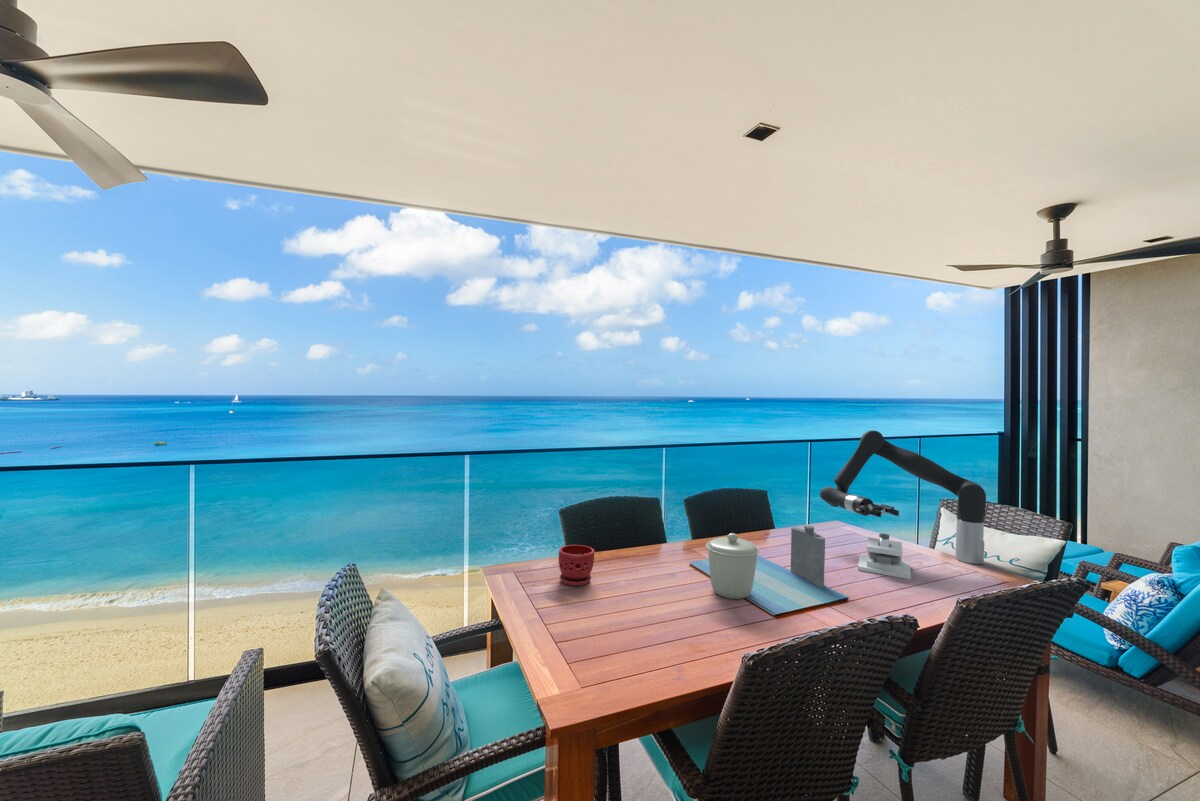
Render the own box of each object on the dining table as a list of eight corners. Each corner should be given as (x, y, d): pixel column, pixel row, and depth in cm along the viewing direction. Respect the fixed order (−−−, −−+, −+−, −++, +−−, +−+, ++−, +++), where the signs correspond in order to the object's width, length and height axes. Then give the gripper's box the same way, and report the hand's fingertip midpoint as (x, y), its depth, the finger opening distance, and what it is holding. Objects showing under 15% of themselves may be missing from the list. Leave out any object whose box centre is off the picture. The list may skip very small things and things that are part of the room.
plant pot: (589, 589, 174) (590, 556, 174) (554, 586, 177) (554, 553, 176) (597, 576, 187) (597, 544, 187) (563, 573, 189) (564, 542, 189)
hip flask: (788, 571, 194) (789, 521, 193) (796, 570, 195) (798, 520, 195) (819, 587, 179) (820, 532, 178) (827, 585, 180) (829, 531, 180)
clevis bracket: (909, 566, 201) (910, 543, 201) (911, 580, 186) (911, 555, 186) (859, 558, 210) (860, 536, 210) (857, 570, 195) (858, 547, 195)
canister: (721, 607, 162) (722, 543, 161) (696, 585, 179) (697, 528, 178) (769, 601, 166) (770, 539, 166) (740, 580, 184) (741, 524, 183)
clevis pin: (889, 563, 199) (889, 534, 199) (889, 566, 196) (889, 536, 196) (878, 562, 201) (878, 533, 201) (879, 565, 198) (879, 535, 198)
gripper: (844, 496, 210) (875, 505, 194) (872, 495, 213) (904, 503, 198) (844, 514, 210) (874, 524, 194) (872, 512, 214) (903, 522, 198)
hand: (889, 514), depth 196 cm, fingers open, 8 cm apart
